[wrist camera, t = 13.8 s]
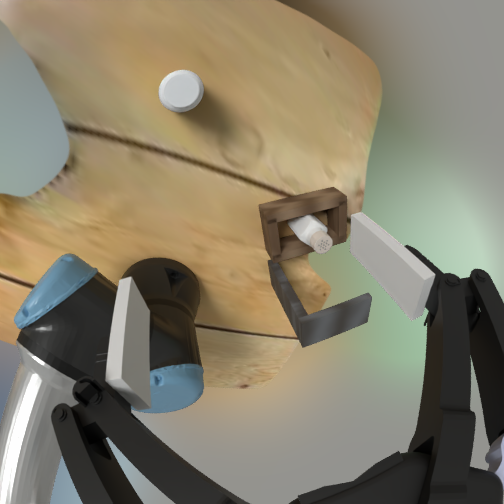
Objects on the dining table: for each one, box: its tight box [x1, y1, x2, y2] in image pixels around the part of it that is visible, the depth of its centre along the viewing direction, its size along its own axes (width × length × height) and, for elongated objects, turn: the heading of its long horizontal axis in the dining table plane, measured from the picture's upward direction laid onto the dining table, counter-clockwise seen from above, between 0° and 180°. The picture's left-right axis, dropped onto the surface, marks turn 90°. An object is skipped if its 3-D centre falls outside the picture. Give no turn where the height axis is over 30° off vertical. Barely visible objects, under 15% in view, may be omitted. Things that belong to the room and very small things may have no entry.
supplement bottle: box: [159, 70, 204, 112], centre depth 29 cm, size 5×5×10 cm
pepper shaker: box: [287, 213, 333, 254], centre depth 45 cm, size 4×4×10 cm
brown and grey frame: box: [259, 187, 372, 347], centre depth 45 cm, size 14×18×17 cm
